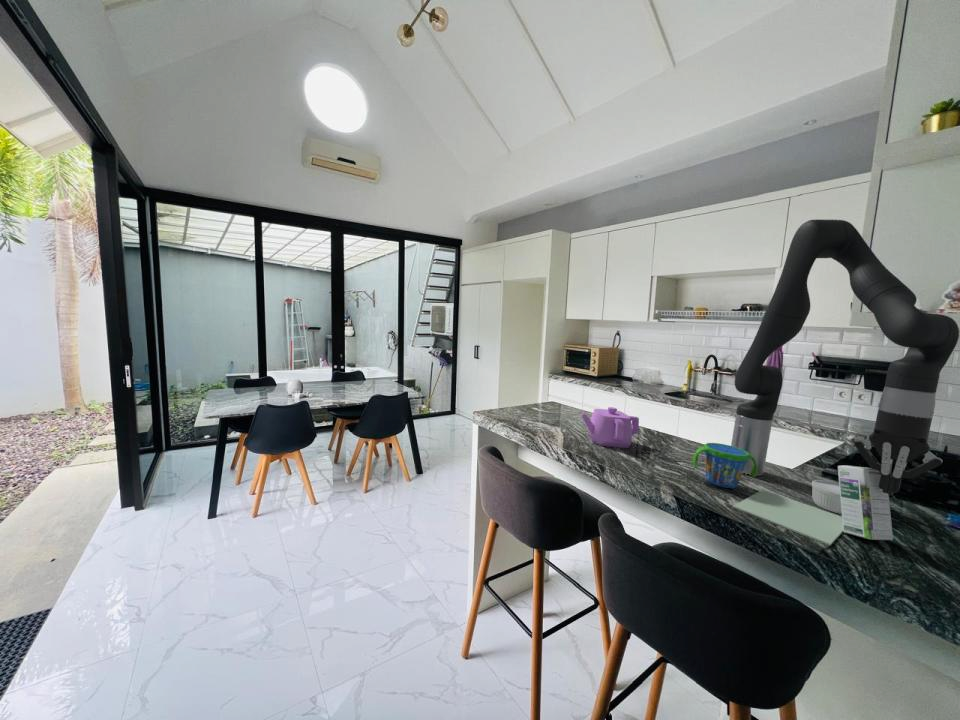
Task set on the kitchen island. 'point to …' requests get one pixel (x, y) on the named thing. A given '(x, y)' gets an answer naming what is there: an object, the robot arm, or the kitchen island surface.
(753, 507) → the mat
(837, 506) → the ramekin
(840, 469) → the syrup box
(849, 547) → the kitchen island surface
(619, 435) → the teakettle
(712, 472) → the snack cup
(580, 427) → the kitchen island surface
